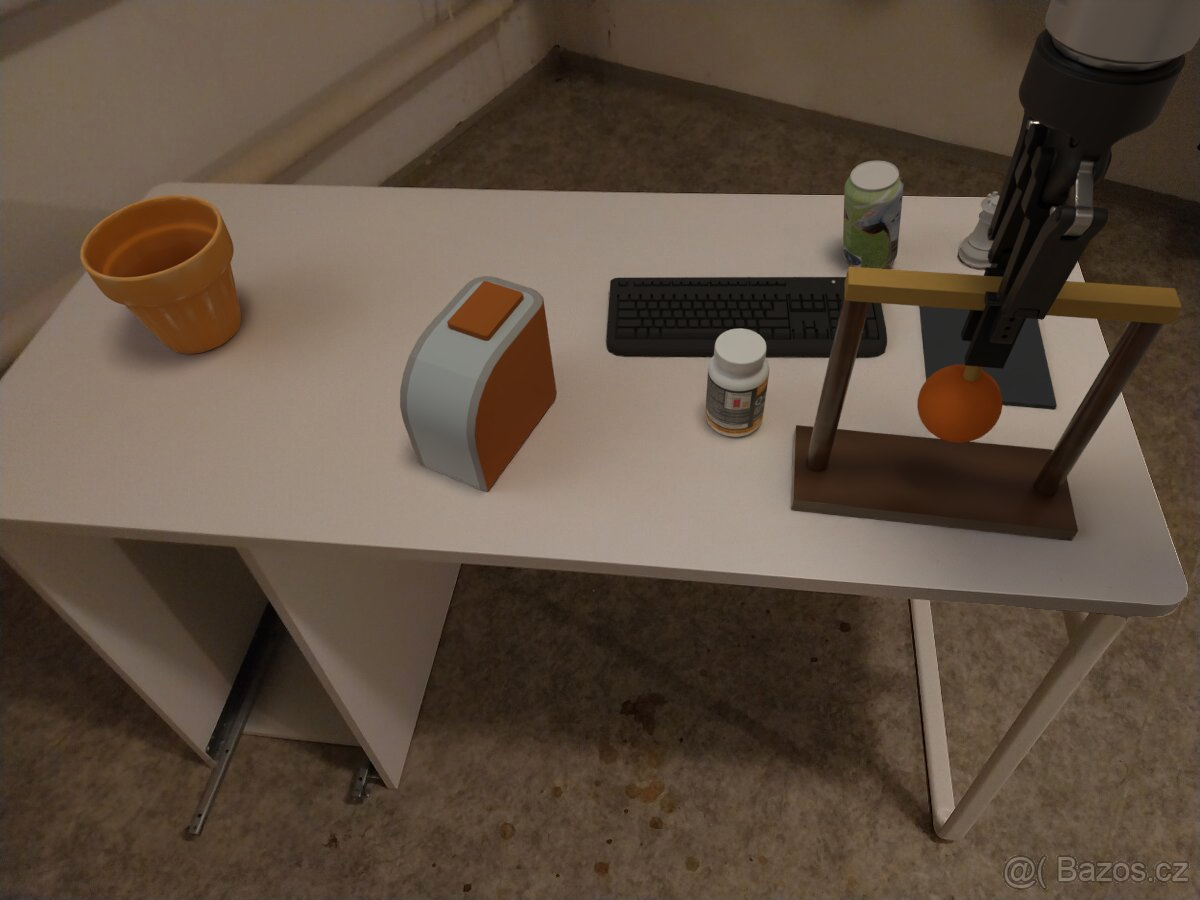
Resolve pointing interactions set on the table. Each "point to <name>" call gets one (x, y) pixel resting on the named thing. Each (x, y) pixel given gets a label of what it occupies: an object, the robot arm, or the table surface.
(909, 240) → the table surface
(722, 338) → the pill bottle
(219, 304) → the flower pot
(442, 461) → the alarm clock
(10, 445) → the table surface
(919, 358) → the table surface
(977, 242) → the rook chess piece
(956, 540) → the table surface
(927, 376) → the slate mat
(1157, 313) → the ball on t-bar
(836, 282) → the keyboard
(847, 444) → the hanger rack
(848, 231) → the beverage can
